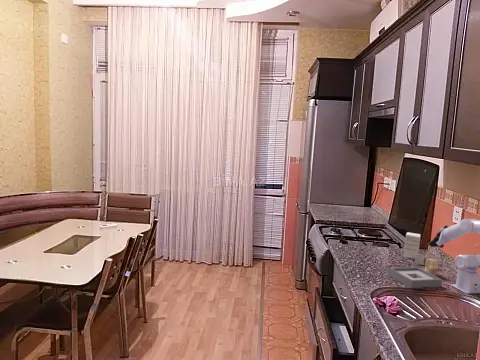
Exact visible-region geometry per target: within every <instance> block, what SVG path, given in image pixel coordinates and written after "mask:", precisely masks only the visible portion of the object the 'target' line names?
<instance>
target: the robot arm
mask: <svg viewBox="0 0 480 360" xmlns="http://www.w3.org/2000/svg"><path fill="white" fill-rule="evenodd" d="M439 230H440V231H438V232H437V233H436V235H435V236H434V238H433V239H432V240H431V241H429V242H428V245H429V246H430V247H431V248H439V249H442V248H443V247H445V244H446V243H449V242H451V241H453V240H456V239H458V238H460V237H463V236H466V235H467V234H470V233H474V234H480V220H479V218H463V219H461V220H460V221H459V222H458V223H456V224H452V225H450V226H448V225H445V226H443V227H441V228H440V229H439ZM454 262H455V266H456V268H457V273H456V274H457V275H456V280H455V281H456V282H455V283H453V284H452V283H451V284H450V286H451V287H453V288H456V289H458V290H459V291H462V292H463V293H465V294H468V295H469V294H480V274H479V273H478V271H479V269H480V254H476V253H473V254H458V255H456V257H455V259H454Z"/></svg>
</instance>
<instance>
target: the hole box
mask: <svg viewBox="0 0 480 360" xmlns="http://www.w3.org/2000/svg"><path fill="white" fill-rule="evenodd" d="M424 270H425V269H422V268H421V267H418V266H417V267H416V266H413V267H411V266H410V267H389V268H388V274H387V275H388V276H389V277H391V278H392V279H394V280H395V281H397V282H400V283H401V284H403V285H405V286H407V287H408V288H409V287H410V288H409V289H423V287H430V288H442V285H443V284H442V283H443V279H442V278H440V277H438V276H437V275H432V274H430V273H428V272H426V271H424Z"/></svg>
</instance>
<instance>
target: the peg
mask: <svg viewBox="0 0 480 360" xmlns="http://www.w3.org/2000/svg"><path fill="white" fill-rule="evenodd" d="M439 264H440V263H439V260H437V259H435V258H425V262H424V269H423V270H424V271H426V272H428V273H430V274H432V275H434V276H437V275H438V269H439Z"/></svg>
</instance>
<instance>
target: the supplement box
mask: <svg viewBox="0 0 480 360" xmlns="http://www.w3.org/2000/svg"><path fill="white" fill-rule="evenodd" d="M421 235H422V234H420V233H414V232H409V231H408V232H406V234H405V239H404V240H405V241H404V247H403V253H402V254H403V257H404V258H408V259H413V260H415V259H416V255H418V254H420V253H419V251H420V245H421Z"/></svg>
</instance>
